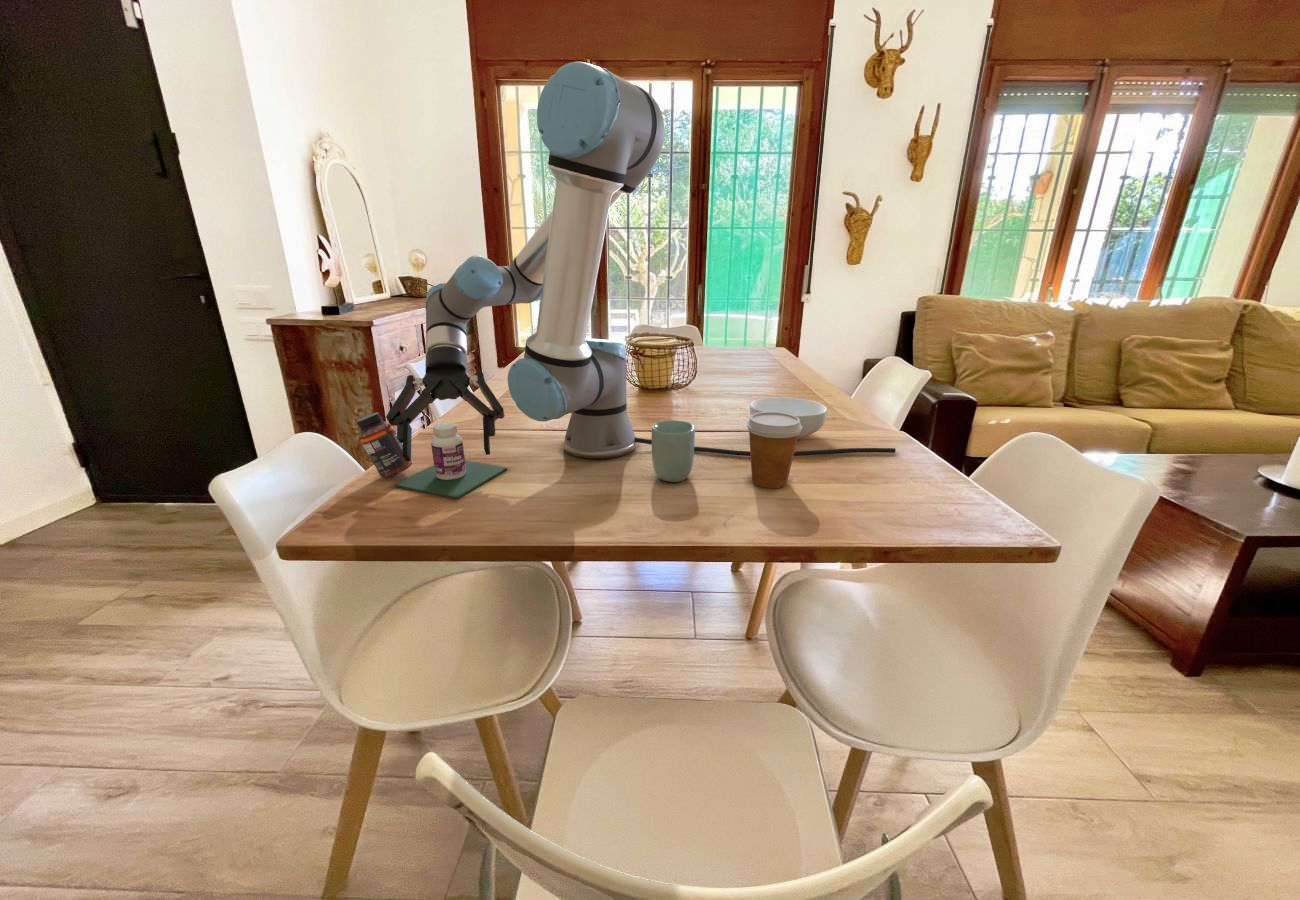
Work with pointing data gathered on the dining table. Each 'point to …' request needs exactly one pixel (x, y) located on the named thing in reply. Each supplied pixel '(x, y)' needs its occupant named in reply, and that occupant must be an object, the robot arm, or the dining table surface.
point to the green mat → (451, 488)
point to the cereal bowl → (794, 411)
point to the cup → (673, 449)
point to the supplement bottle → (382, 445)
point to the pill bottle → (448, 452)
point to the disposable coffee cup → (772, 447)
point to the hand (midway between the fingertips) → (447, 454)
